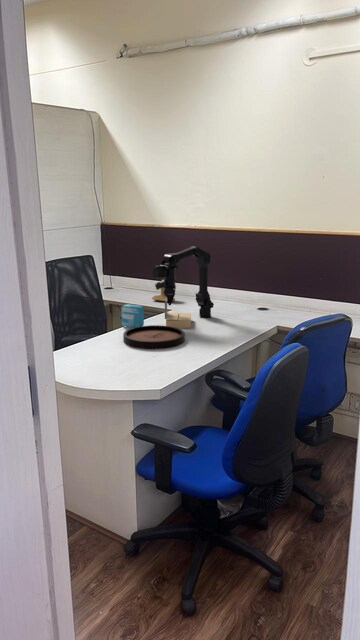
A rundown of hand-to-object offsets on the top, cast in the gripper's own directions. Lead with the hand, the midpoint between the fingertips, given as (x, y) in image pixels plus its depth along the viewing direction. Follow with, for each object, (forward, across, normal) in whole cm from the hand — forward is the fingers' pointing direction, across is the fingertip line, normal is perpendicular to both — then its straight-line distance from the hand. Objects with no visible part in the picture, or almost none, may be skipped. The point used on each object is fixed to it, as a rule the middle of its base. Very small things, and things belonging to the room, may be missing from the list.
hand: (169, 303), depth 280 cm
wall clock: (+13, +33, -7) cm, 36 cm away
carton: (+12, 0, +5) cm, 13 cm away
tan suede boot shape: (+12, -64, -6) cm, 65 cm away
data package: (+12, +6, -21) cm, 25 cm away
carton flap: (+8, 0, +1) cm, 8 cm away
